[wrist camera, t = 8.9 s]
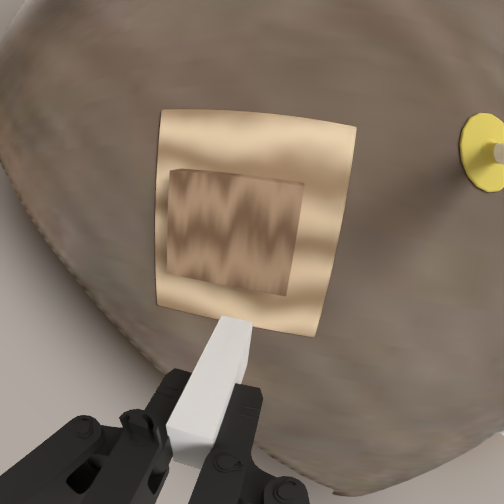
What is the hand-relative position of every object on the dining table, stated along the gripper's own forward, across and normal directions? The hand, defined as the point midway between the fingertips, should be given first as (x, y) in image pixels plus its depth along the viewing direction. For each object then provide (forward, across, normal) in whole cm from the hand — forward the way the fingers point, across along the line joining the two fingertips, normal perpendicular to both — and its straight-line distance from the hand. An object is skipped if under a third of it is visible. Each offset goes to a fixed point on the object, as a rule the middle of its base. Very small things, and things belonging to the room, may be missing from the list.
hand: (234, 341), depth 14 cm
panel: (+19, +2, -1) cm, 19 cm away
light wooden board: (+21, -4, -1) cm, 21 cm away
